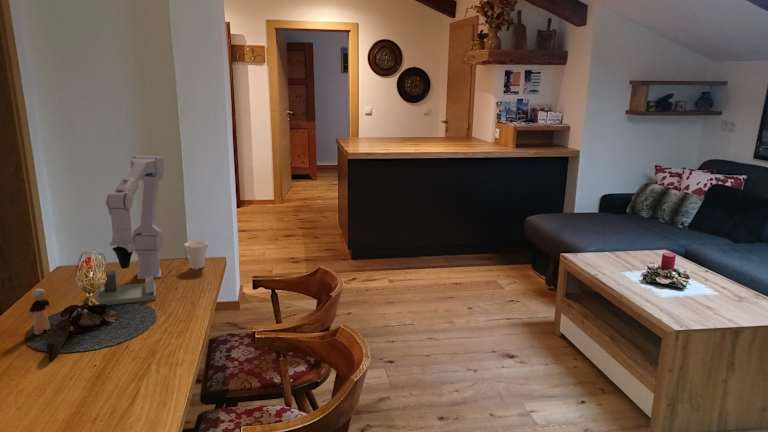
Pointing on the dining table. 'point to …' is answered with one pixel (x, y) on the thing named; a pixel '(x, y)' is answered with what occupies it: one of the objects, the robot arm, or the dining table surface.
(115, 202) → the robot arm
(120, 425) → the dining table surface
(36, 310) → the grandmother figurine
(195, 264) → the cup
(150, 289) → the sliding jaw
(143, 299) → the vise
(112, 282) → the dark steel block
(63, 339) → the hand tool
